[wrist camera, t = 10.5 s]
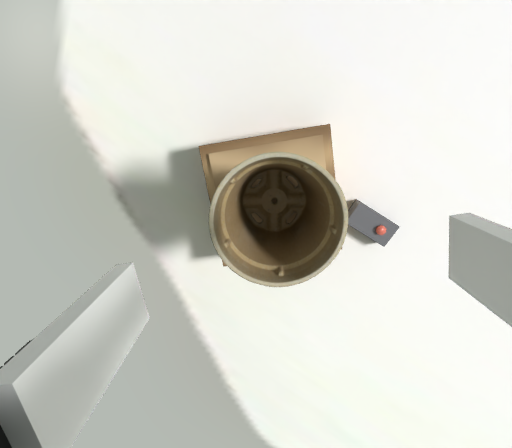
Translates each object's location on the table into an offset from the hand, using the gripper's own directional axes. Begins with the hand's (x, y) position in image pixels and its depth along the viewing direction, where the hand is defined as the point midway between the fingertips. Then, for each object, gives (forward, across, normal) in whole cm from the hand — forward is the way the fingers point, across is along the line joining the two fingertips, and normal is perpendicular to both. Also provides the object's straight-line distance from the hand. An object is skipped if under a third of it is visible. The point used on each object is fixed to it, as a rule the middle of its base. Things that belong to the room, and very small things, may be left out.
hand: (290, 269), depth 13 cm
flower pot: (+17, 0, -1) cm, 17 cm away
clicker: (+21, +10, -5) cm, 24 cm away
